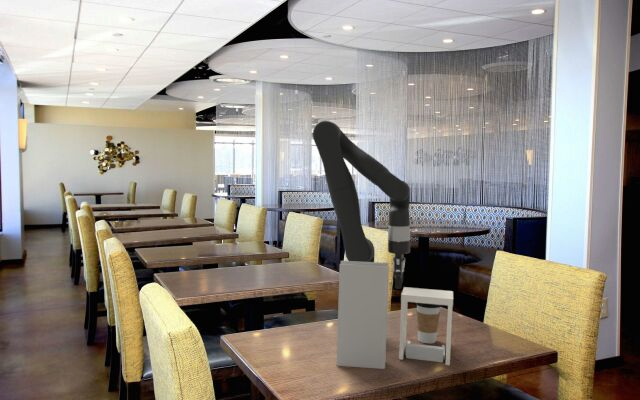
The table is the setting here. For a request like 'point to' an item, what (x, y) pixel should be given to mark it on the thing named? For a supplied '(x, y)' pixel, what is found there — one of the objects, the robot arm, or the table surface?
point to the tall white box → (362, 314)
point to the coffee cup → (427, 322)
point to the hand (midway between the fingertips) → (399, 285)
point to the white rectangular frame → (410, 349)
